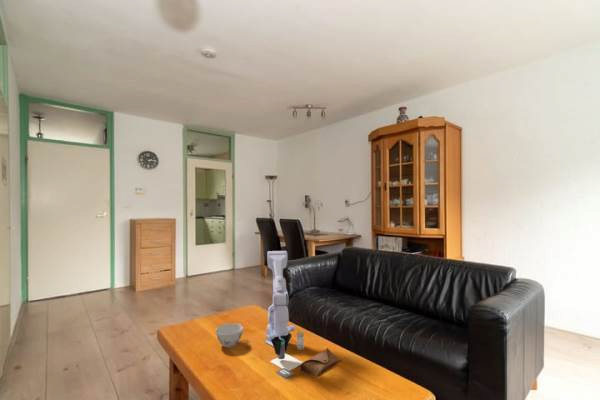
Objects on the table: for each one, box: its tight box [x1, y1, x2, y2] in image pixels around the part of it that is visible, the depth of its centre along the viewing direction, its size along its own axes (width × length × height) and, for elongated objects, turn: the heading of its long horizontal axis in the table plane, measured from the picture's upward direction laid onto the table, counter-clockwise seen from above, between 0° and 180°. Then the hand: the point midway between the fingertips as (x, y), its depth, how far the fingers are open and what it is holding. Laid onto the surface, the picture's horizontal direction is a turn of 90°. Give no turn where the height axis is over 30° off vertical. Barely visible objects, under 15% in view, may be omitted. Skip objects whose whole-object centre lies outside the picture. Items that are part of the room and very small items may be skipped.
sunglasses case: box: [300, 347, 342, 378], centre depth 123 cm, size 18×7×7 cm
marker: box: [276, 339, 286, 359], centre depth 126 cm, size 3×3×7 cm
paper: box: [269, 353, 304, 372], centre depth 125 cm, size 11×9×1 cm
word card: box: [275, 368, 294, 380], centre depth 117 cm, size 6×4×1 cm, turn 45°
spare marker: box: [296, 330, 305, 351], centre depth 138 cm, size 3×3×7 cm
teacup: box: [215, 322, 244, 349], centre depth 142 cm, size 15×12×8 cm
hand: (280, 352), depth 126 cm, fingers closed on marker, 3 cm apart
